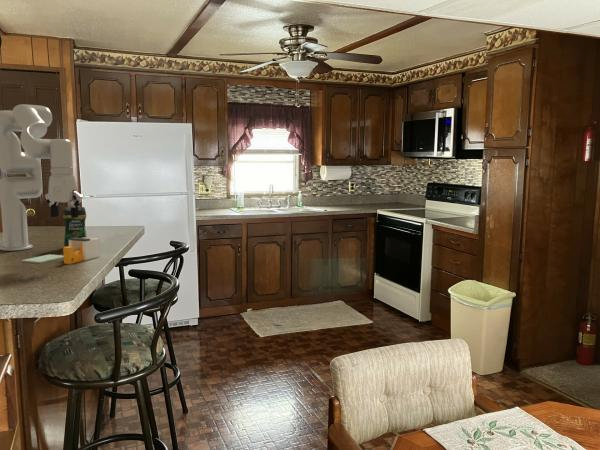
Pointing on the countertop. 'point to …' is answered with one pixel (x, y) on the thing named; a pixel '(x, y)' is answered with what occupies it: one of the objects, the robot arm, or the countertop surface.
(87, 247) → the hollow square frame
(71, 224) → the coffee jar
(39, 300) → the countertop surface
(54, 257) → the mat
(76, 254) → the orange branched block
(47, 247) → the countertop surface
